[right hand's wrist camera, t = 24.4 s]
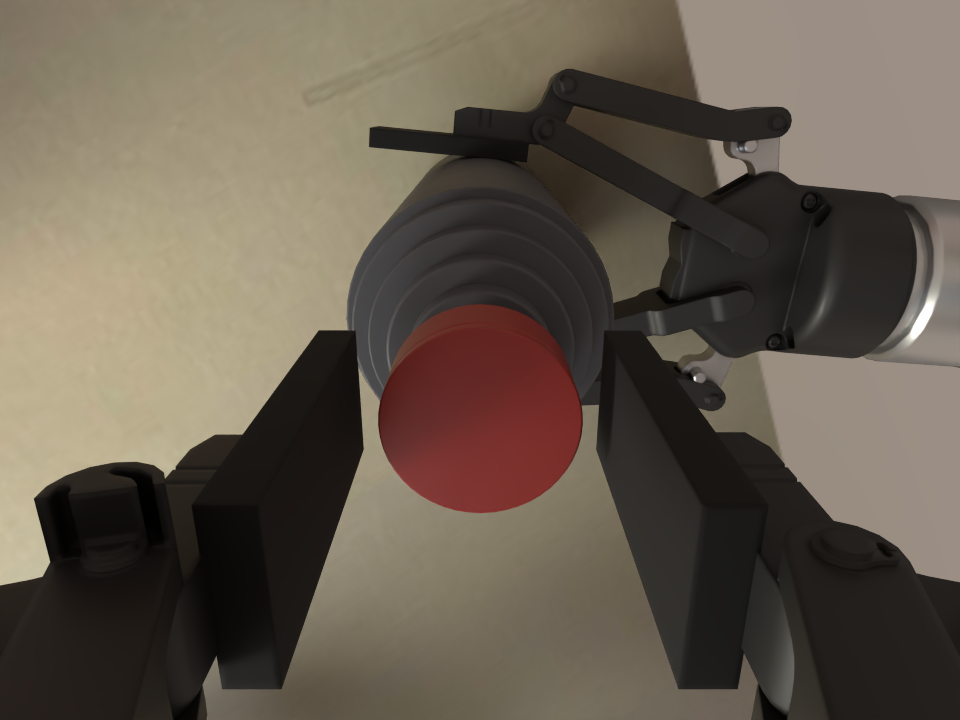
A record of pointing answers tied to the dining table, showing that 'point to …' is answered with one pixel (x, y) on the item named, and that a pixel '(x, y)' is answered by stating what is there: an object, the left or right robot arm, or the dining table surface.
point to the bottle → (480, 265)
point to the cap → (480, 410)
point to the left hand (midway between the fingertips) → (371, 231)
